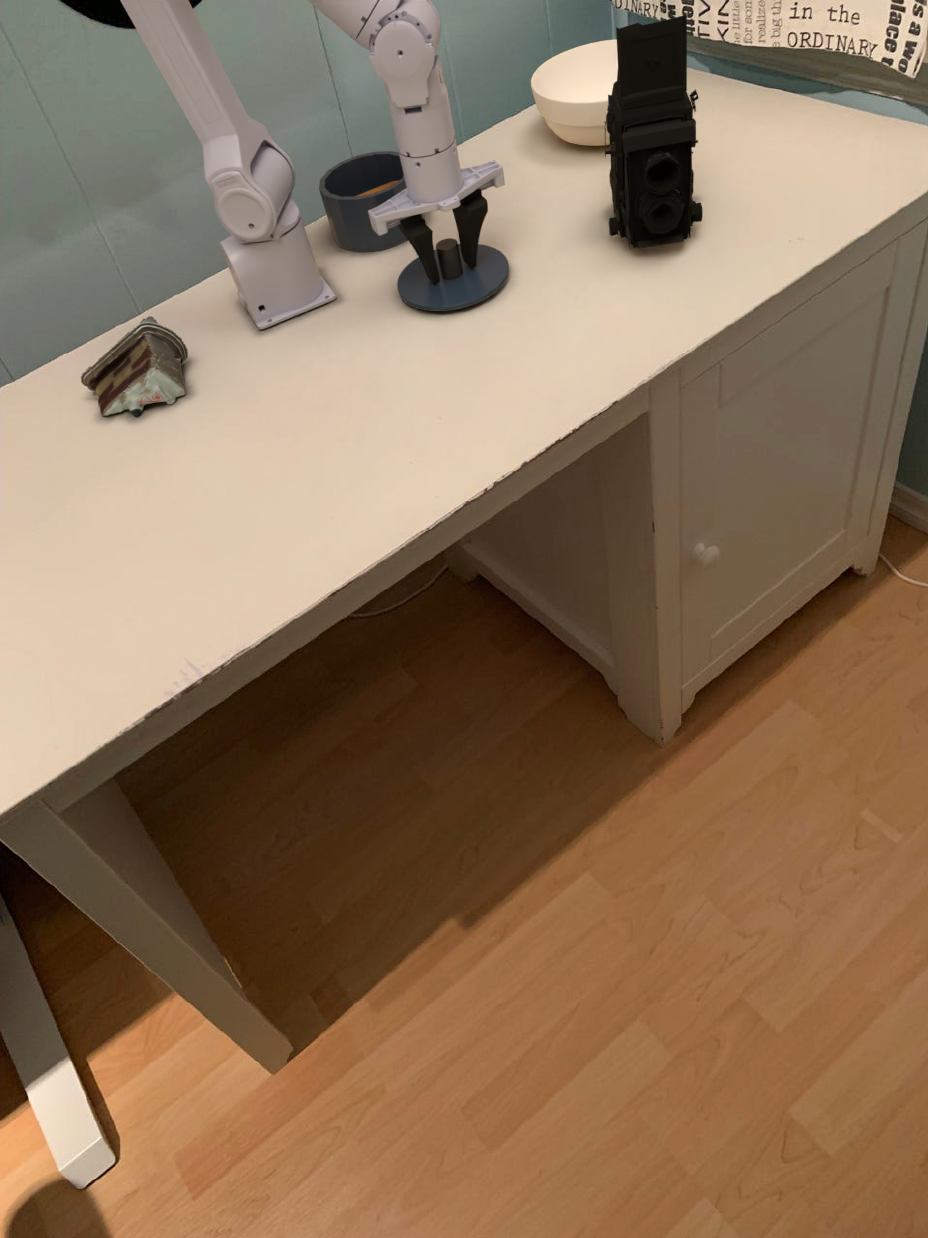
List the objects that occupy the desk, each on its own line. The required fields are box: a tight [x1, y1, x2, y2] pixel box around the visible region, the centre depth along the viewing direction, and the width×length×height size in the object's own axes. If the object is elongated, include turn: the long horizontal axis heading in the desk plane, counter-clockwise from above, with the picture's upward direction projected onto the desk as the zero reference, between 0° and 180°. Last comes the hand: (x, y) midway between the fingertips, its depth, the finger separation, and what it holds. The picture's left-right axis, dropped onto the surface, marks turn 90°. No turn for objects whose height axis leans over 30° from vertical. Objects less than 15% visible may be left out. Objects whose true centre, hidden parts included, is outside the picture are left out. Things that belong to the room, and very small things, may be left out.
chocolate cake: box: [80, 315, 189, 417], centre depth 93 cm, size 10×7×12 cm
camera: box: [604, 14, 703, 250], centre depth 89 cm, size 10×14×20 cm
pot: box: [318, 150, 426, 253], centre depth 106 cm, size 11×11×6 cm
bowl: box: [530, 38, 618, 147], centre depth 111 cm, size 18×18×7 cm
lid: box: [396, 237, 510, 312], centre depth 95 cm, size 12×12×5 cm
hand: (451, 271), depth 96 cm, fingers open, 4 cm apart
